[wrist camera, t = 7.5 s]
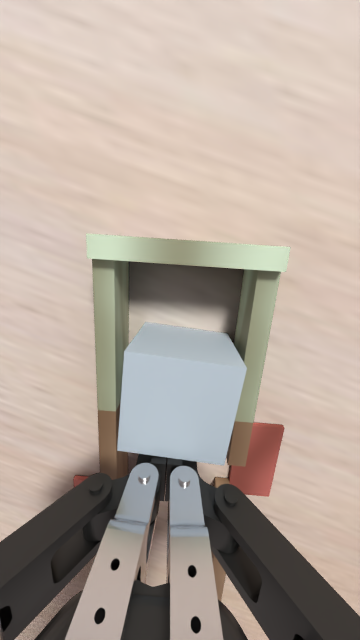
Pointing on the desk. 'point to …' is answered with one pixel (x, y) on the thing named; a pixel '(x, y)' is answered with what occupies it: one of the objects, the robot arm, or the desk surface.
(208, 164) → the desk surface
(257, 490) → the frame
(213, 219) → the desk surface
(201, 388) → the slate block
